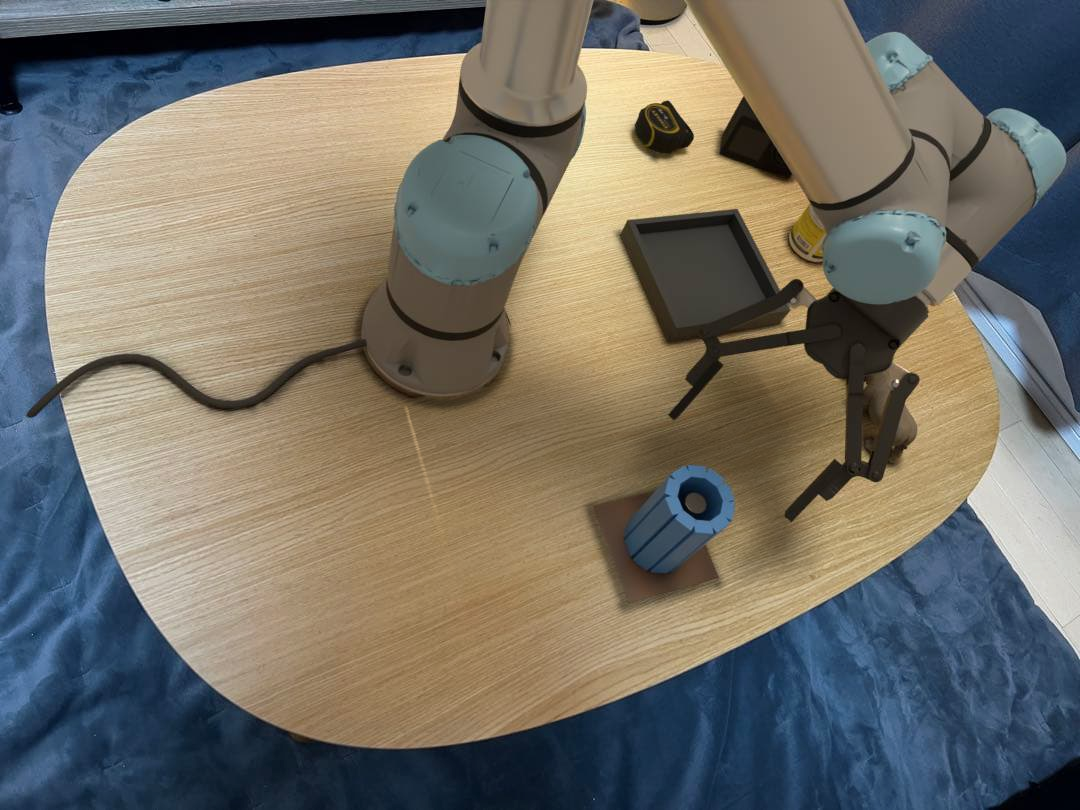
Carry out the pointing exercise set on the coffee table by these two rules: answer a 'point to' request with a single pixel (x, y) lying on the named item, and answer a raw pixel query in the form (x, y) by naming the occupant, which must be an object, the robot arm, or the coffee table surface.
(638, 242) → the tray
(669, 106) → the tape measure
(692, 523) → the blue grooved hollow cylinder
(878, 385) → the rhino figurine
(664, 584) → the stand
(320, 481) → the coffee table surface
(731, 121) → the digital camera
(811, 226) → the pill bottle
